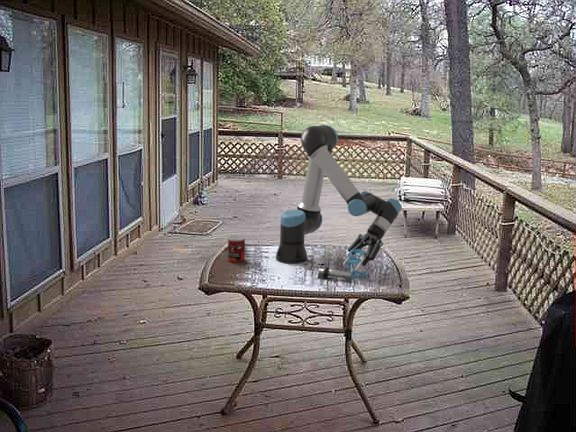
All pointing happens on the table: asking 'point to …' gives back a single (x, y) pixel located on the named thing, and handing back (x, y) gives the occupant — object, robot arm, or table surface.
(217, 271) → the table surface
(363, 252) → the chair
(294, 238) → the robot arm
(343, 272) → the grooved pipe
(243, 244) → the canned food
